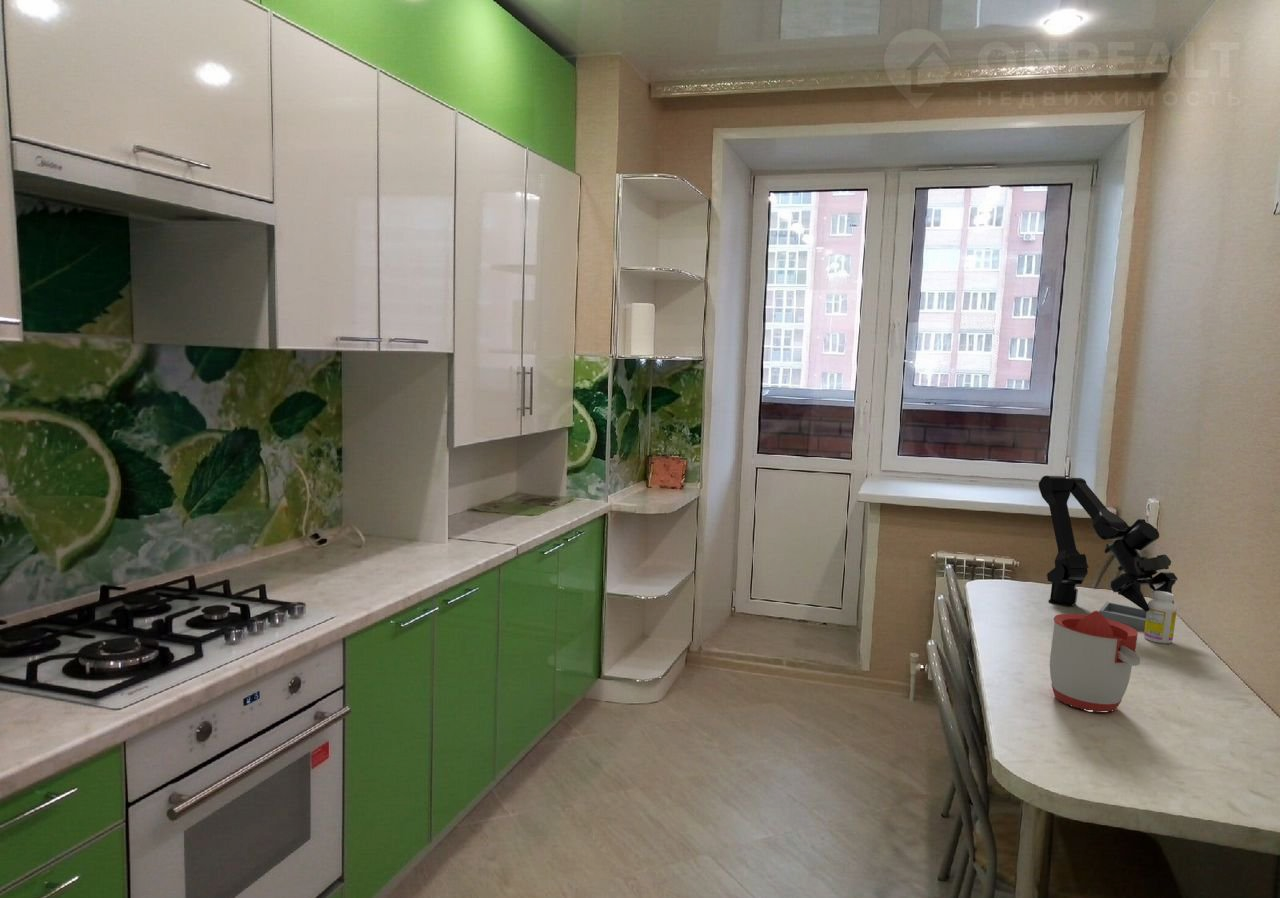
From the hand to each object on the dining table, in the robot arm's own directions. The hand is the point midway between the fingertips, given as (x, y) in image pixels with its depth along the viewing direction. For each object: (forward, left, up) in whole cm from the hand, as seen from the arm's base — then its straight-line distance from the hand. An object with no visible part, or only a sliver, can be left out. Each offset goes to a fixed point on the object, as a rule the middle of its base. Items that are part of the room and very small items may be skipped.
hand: (1160, 610), depth 227 cm
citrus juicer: (-6, -65, -8) cm, 66 cm away
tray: (-9, +13, -8) cm, 17 cm away
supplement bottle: (0, 0, -8) cm, 8 cm away
